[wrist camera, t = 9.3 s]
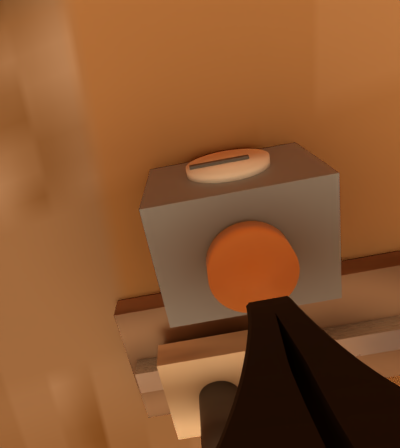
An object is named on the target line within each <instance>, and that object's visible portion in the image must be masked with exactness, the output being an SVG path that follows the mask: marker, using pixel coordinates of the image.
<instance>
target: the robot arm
mask: <svg viewBox="0 0 400 448" xmlns="http://www.w3.org/2000/svg"><path fill="white" fill-rule="evenodd" d="M246 309H247V315H248V335H247V343H246V351H245V357H244V362H243V367H242V372H241V376H240V380H239V384H238V388H237V392H236V395H235V398H234V402H233V405H232V408H231V410H230V413H229V416H228V419H227V422H226V425H225V427H224V430H223V432H222V435H221V437H220V439H219V442H218V444H217V446H216V448H400V387H399V386H398V385H396V384H394V383H393V382H391V381H390V380H388V379H386V378H385V377H383V376H382V375H381V374H379V373H378V372H376V371H375V370H373V369H372V368H370V367H369V366H367V365H366V364H365V363H363V362H362V361H361V360H359V359H358V358H356V357H355V356H354V355H353V354H351V353H350V352H349V351H348V350H346V349H345V348H344V347H342V346H341V345H340V344H339V343H338V342H336V341H335V340H334V339H333V338H332V337H331V336H329V335H328V334H327V333H326V332H325V331H324V330H323V329H321V328H320V327H319V326H318V325H317V324H316V323H315V322H314V321H313V320H312V319H311V318H310V317H309V316H308V315H307V314H306V313H305V312H304V311H303V310H302V309H301V308H300V307H299V306H298V305H297V304H296V303H295V302H294V301H293V300H292V299H291V298H290V297H288V296H283V297H277V298H272V299H266V300H260V301H255V302H249V303H248V304H247V306H246Z"/></svg>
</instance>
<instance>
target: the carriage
mask: <svg viewBox="0 0 400 448" xmlns="http://www.w3.org/2000/svg"><path fill="white" fill-rule="evenodd" d="M247 335H248V330H244V331H238V332H232V333H227V334H221V335H215V336H209V337H204V338H198V339H192V340H186V341H180V342H175V343H169V344H163V345H158V355H157V369H158V373H159V376H160V379H161V383H162V386H163V389H164V393H165V396H166V399H167V403H168V406H169V409H170V413H171V416H172V419H173V422H174V426H175V429H176V432H177V436H178V439H185V438H192V437H198V436H201V445H202V448H216V446H217V444H218V442H219V439H220V437H221V435H222V432H223V430H224V427H225V425H226V422H227V419H228V416H229V413H230V410H231V408H232V405H233V402H234V398H235V395H236V392H237V388H238V384H239V380H240V376H241V372H242V367H243V362H244V357H245V351H246V343H247Z"/></svg>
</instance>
